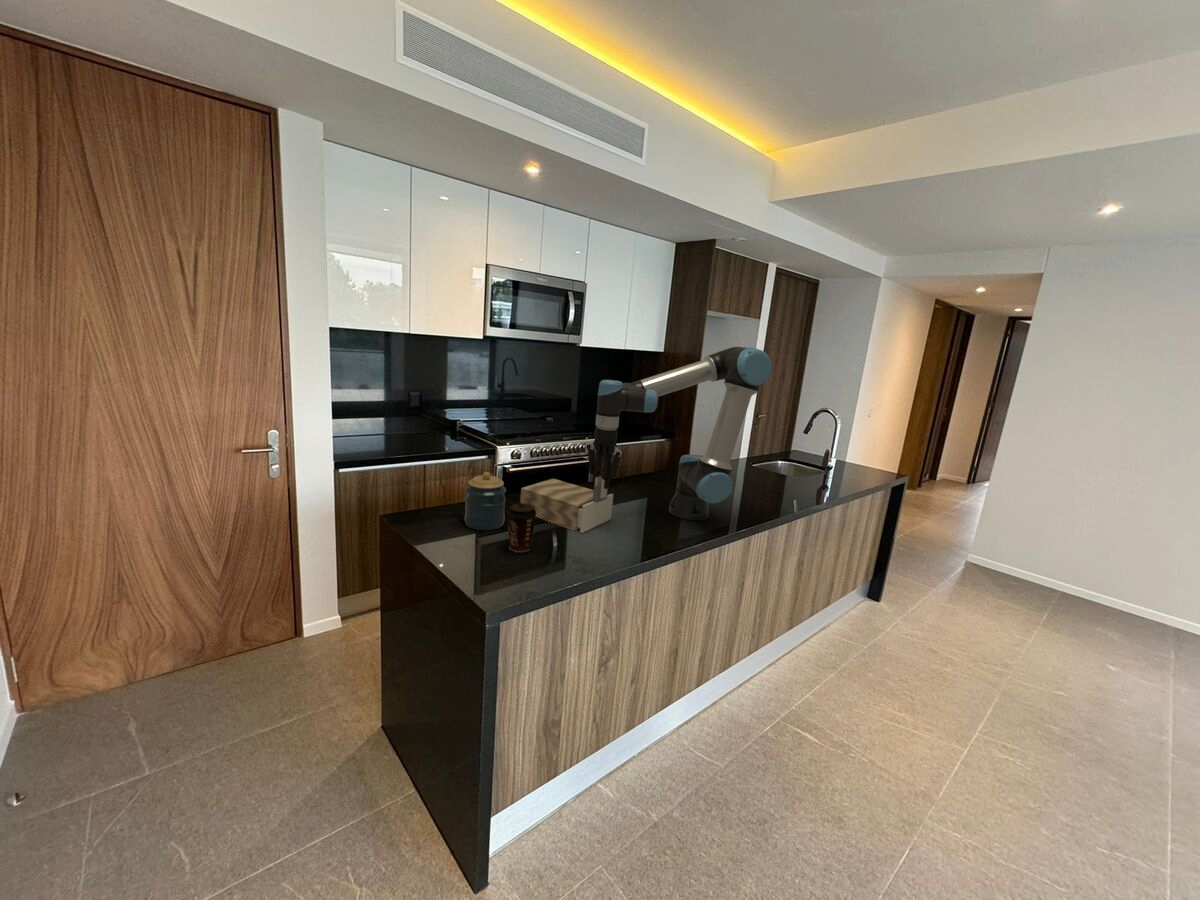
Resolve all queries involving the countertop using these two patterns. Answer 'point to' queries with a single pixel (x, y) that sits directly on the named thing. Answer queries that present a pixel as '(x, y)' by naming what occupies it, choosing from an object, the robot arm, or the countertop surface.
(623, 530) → the countertop surface
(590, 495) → the mailer sleeve
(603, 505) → the tray
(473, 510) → the canister
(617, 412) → the robot arm
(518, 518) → the coffee cup
